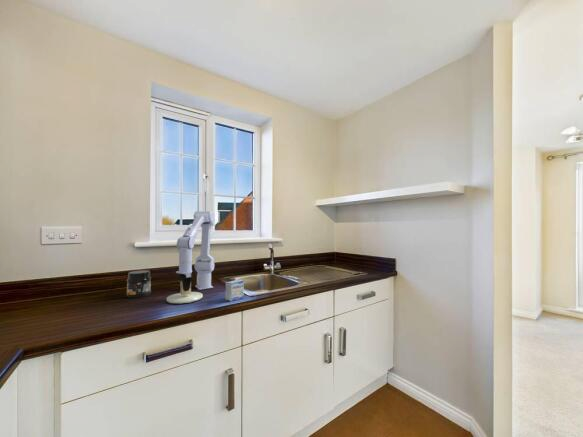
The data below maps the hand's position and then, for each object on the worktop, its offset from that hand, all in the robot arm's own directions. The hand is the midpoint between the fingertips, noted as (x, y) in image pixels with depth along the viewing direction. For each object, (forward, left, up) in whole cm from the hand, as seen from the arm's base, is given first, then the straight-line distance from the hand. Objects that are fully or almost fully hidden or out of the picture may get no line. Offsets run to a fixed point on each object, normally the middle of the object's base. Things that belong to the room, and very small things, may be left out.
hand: (185, 289), depth 119 cm
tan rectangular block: (0, 0, -2) cm, 2 cm away
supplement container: (-21, -18, -5) cm, 28 cm away
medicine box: (+13, +20, -5) cm, 24 cm away
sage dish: (0, 0, -5) cm, 5 cm away
